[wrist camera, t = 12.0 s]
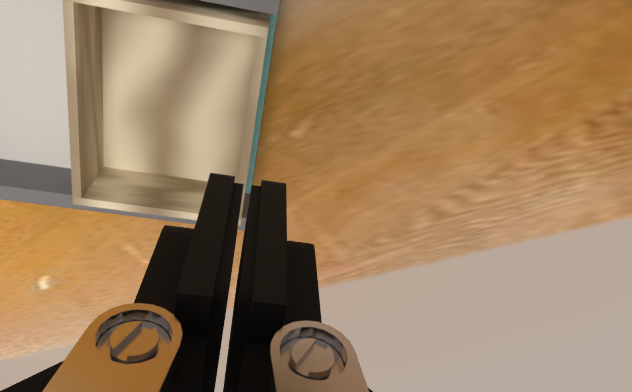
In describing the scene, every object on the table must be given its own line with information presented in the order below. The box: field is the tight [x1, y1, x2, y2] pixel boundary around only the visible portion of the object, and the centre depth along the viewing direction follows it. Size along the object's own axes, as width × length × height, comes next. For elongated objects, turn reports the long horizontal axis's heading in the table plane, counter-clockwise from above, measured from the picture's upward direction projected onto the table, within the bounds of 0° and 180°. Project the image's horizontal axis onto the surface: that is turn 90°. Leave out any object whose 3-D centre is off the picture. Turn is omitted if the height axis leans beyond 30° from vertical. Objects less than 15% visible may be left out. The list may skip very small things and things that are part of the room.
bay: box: [0, 0, 280, 231], centre depth 36 cm, size 23×18×5 cm
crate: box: [63, 0, 270, 226], centre depth 35 cm, size 12×15×6 cm
